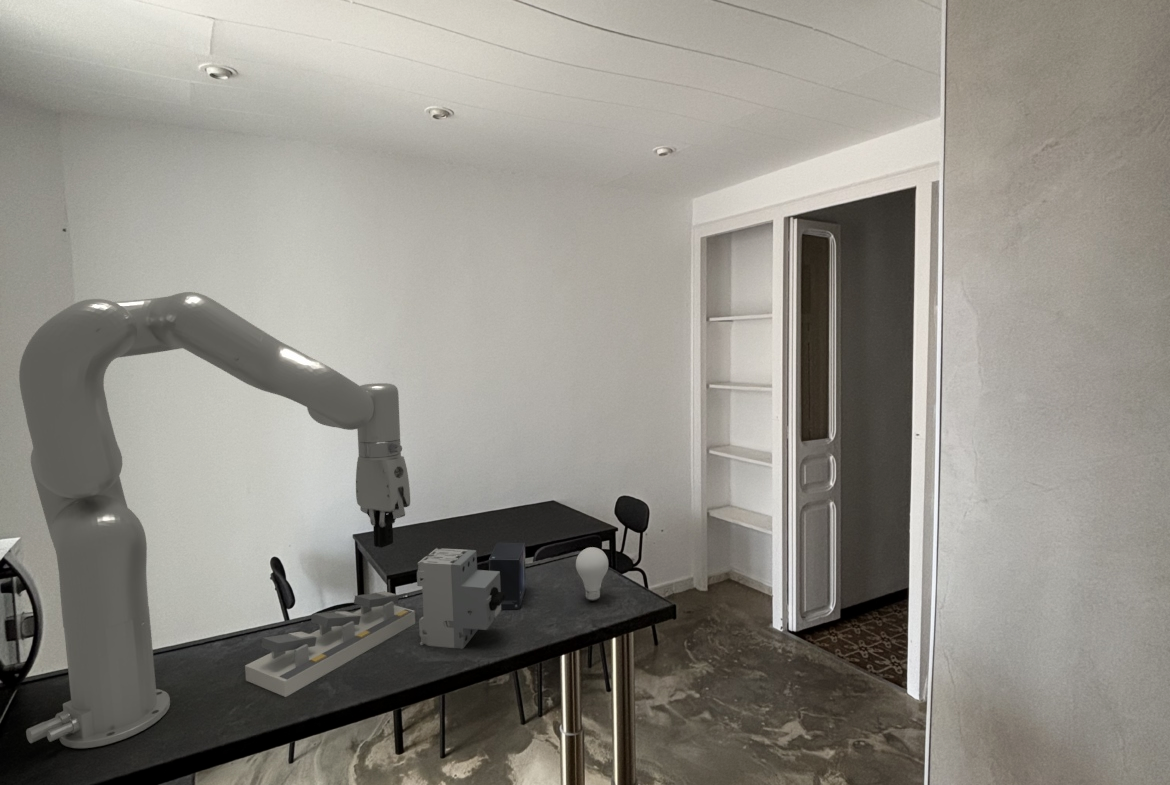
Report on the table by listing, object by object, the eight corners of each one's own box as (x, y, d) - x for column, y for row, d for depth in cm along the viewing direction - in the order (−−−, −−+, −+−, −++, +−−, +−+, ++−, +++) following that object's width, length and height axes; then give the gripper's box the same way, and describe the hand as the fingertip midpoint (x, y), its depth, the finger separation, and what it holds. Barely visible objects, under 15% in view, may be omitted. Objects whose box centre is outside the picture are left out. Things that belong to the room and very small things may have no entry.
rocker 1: (276, 652, 94) (278, 641, 94) (260, 646, 96) (262, 636, 96) (315, 646, 100) (316, 636, 100) (299, 640, 102) (301, 630, 102)
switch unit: (285, 697, 92) (283, 663, 92) (246, 680, 97) (243, 648, 97) (415, 623, 116) (414, 596, 115) (378, 613, 121) (376, 587, 120)
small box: (521, 610, 121) (520, 558, 120) (488, 610, 121) (487, 559, 120) (527, 588, 131) (526, 541, 130) (497, 589, 131) (495, 541, 130)
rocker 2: (326, 627, 102) (328, 617, 102) (310, 622, 104) (313, 612, 104) (358, 624, 108) (360, 615, 108) (343, 619, 110) (345, 610, 110)
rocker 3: (369, 607, 110) (370, 598, 110) (353, 603, 112) (355, 594, 112) (397, 603, 116) (399, 594, 116) (382, 599, 118) (384, 590, 118)
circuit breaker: (496, 651, 105) (493, 566, 103) (420, 645, 108) (416, 562, 106) (510, 631, 112) (508, 551, 111) (438, 625, 115) (435, 548, 114)
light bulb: (579, 593, 128) (578, 542, 127) (610, 594, 127) (609, 543, 126) (574, 607, 121) (573, 553, 120) (607, 608, 120) (606, 554, 120)
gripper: (423, 449, 114) (427, 545, 115) (367, 443, 121) (371, 534, 122) (393, 455, 107) (397, 557, 109) (336, 449, 114) (340, 545, 116)
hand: (383, 544), depth 115 cm, fingers closed
